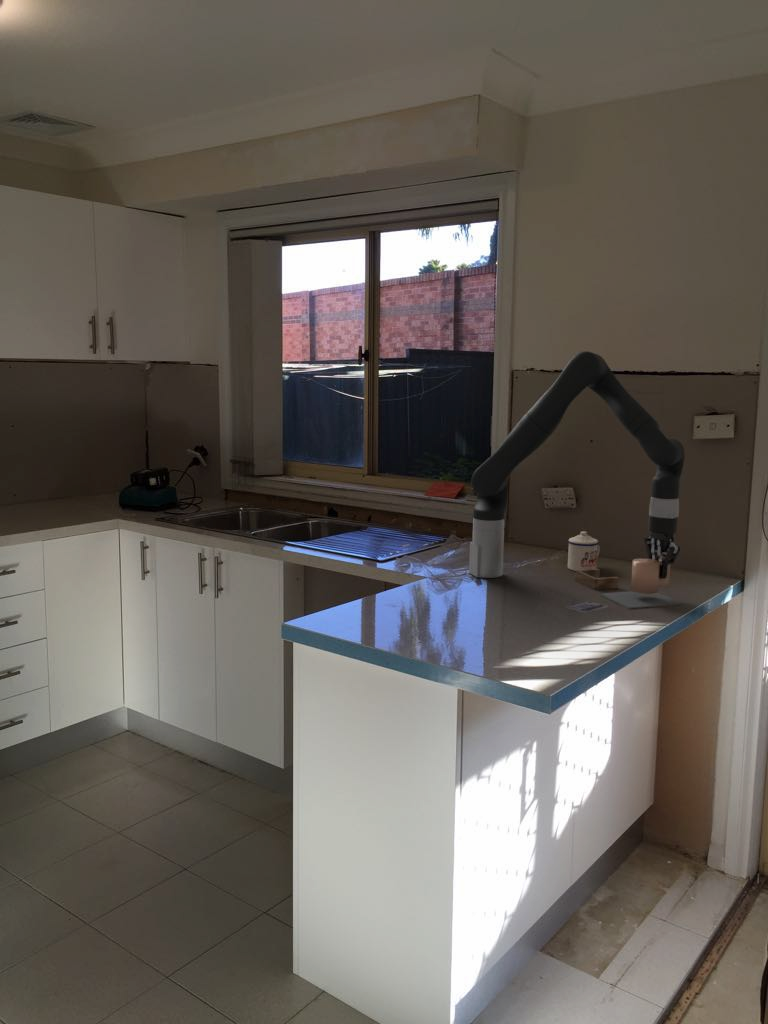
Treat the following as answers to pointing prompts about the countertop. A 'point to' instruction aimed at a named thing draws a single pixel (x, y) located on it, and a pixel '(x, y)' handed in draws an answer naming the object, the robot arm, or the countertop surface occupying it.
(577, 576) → the walnut holder
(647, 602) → the charcoal mat
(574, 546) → the teacup with lid
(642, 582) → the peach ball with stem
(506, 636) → the countertop surface
